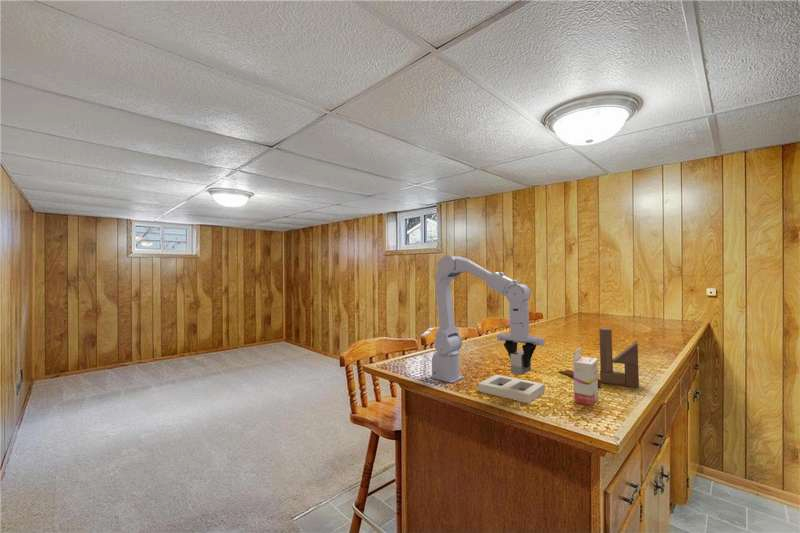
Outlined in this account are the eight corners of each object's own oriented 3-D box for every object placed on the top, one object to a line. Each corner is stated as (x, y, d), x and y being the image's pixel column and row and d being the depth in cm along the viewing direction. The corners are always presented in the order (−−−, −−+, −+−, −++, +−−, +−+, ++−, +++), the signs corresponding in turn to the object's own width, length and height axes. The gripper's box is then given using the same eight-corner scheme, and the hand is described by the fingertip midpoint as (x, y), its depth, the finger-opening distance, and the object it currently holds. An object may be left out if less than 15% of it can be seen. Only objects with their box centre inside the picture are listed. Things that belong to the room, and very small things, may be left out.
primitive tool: (556, 372, 131) (556, 363, 131) (569, 371, 132) (569, 362, 132) (592, 390, 112) (592, 379, 112) (607, 389, 113) (607, 378, 113)
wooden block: (639, 387, 112) (637, 331, 112) (600, 383, 117) (598, 329, 117) (637, 384, 115) (636, 329, 115) (600, 380, 120) (598, 327, 120)
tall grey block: (510, 373, 108) (510, 353, 108) (520, 368, 113) (519, 349, 113) (521, 375, 106) (521, 355, 106) (531, 370, 111) (530, 351, 111)
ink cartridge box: (593, 406, 98) (591, 353, 98) (573, 402, 101) (572, 351, 101) (599, 397, 104) (597, 348, 104) (580, 394, 107) (579, 346, 108)
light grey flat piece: (478, 391, 112) (478, 383, 112) (496, 381, 121) (496, 374, 121) (528, 403, 101) (528, 394, 101) (544, 392, 110) (544, 384, 110)
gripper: (547, 322, 107) (549, 367, 107) (503, 319, 117) (504, 359, 117) (538, 325, 102) (540, 372, 102) (493, 321, 112) (494, 364, 112)
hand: (520, 366), depth 109 cm, fingers closed on tall grey block, 3 cm apart
